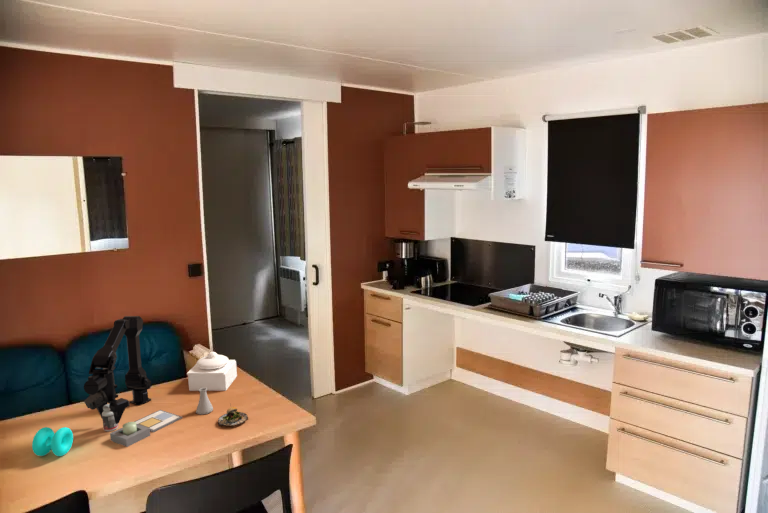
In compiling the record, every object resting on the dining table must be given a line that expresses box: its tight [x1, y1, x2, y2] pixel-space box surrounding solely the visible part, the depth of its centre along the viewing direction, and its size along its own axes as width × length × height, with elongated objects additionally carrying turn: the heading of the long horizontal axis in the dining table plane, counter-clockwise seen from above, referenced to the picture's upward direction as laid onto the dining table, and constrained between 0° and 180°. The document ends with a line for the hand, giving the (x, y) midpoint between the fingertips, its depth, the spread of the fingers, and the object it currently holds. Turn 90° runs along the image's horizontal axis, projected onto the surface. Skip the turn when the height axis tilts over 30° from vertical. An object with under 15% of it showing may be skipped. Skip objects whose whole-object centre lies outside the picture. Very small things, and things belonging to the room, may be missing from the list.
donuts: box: [31, 426, 74, 457], centre depth 194 cm, size 10×10×10 cm
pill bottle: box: [101, 403, 119, 432], centre depth 213 cm, size 5×5×10 cm
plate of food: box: [217, 403, 249, 428], centre depth 217 cm, size 12×12×8 cm
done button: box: [122, 421, 137, 436], centre depth 205 cm, size 5×5×4 cm
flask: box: [195, 388, 214, 415], centre depth 227 cm, size 7×7×10 cm
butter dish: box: [186, 351, 238, 392], centre depth 256 cm, size 18×18×16 cm
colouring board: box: [133, 409, 183, 433], centre depth 219 cm, size 14×14×1 cm
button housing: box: [109, 424, 151, 448], centre depth 205 cm, size 10×10×3 cm
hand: (110, 420), depth 213 cm, fingers open, 9 cm apart
